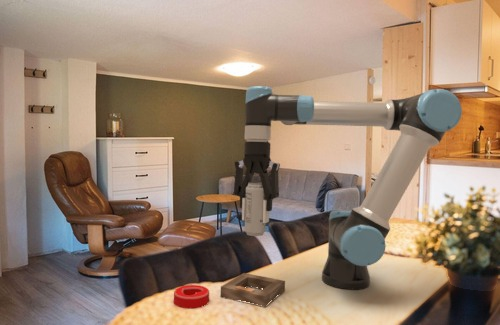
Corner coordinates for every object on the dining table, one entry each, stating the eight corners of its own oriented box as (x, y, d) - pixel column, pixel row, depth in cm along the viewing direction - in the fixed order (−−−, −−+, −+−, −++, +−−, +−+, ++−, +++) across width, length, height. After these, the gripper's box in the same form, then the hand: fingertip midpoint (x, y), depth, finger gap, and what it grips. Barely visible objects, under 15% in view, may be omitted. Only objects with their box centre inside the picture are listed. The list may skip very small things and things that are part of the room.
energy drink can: (265, 236, 107) (266, 183, 107) (244, 236, 108) (245, 183, 107) (265, 232, 114) (266, 182, 113) (244, 231, 114) (246, 181, 113)
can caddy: (284, 290, 114) (285, 279, 114) (265, 307, 102) (265, 295, 102) (243, 282, 121) (243, 271, 120) (220, 297, 108) (220, 285, 108)
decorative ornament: (180, 294, 110) (181, 283, 110) (213, 297, 109) (213, 286, 109) (168, 307, 101) (168, 295, 101) (203, 310, 99) (203, 298, 99)
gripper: (293, 142, 109) (290, 222, 109) (235, 141, 117) (233, 215, 118) (283, 141, 102) (280, 227, 103) (222, 140, 111) (220, 219, 111)
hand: (255, 220), depth 110 cm, fingers closed on energy drink can, 6 cm apart
